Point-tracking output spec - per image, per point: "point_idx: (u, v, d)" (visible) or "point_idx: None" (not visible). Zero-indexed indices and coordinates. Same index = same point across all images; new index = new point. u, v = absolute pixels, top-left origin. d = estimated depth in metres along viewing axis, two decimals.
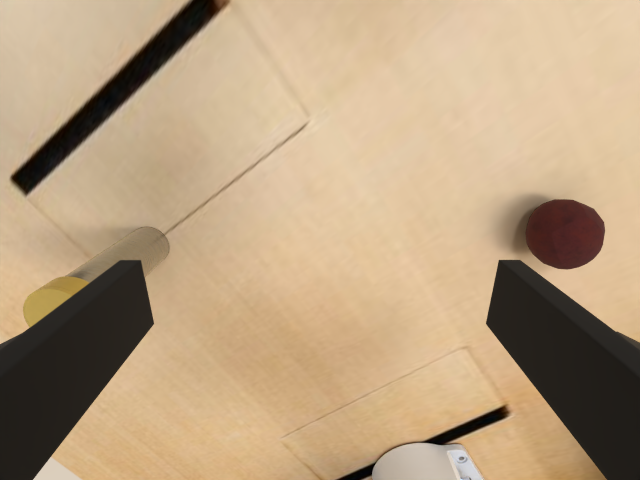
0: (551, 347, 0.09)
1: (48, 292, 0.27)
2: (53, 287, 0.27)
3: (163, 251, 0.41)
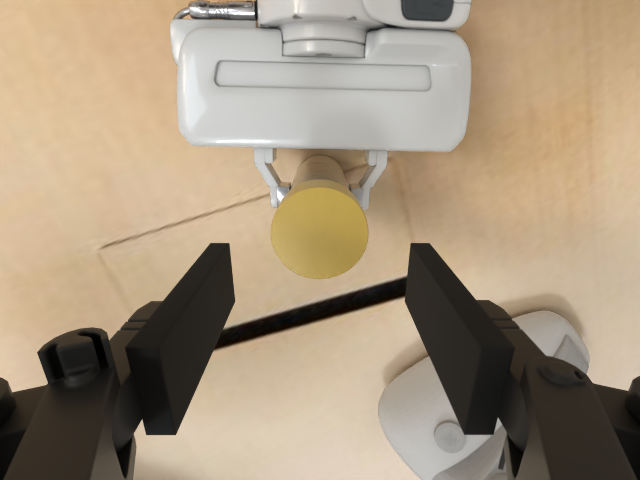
0: (433, 314, 0.11)
1: (307, 272, 0.19)
2: (301, 274, 0.20)
3: None
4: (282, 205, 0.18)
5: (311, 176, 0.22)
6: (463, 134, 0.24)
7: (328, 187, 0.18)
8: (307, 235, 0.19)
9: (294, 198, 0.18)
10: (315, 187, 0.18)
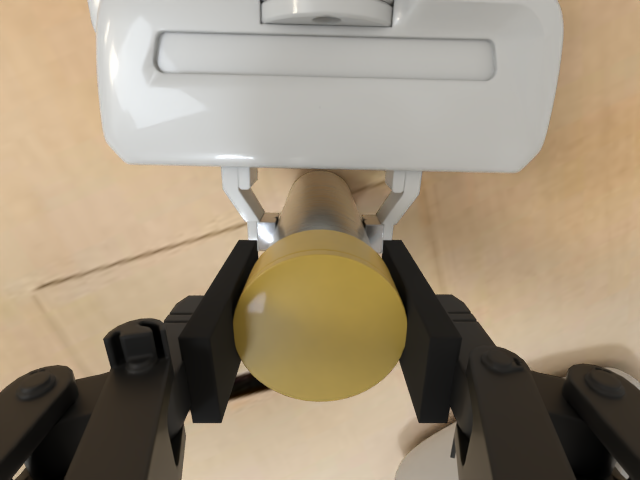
0: None
1: (299, 392, 0.11)
2: (288, 392, 0.11)
3: None
4: (251, 285, 0.10)
5: (307, 215, 0.14)
6: (540, 147, 0.15)
7: (336, 253, 0.10)
8: (298, 334, 0.10)
9: (273, 273, 0.10)
10: (312, 254, 0.10)
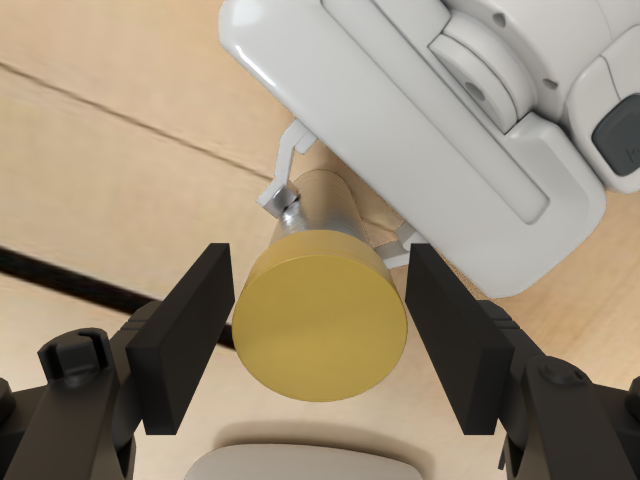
0: (433, 314, 0.11)
1: (367, 381, 0.11)
2: (364, 387, 0.11)
3: (304, 177, 0.23)
4: (240, 355, 0.11)
5: (345, 217, 0.14)
6: (517, 293, 0.18)
7: (252, 279, 0.10)
8: (308, 350, 0.11)
9: (239, 335, 0.10)
10: (240, 298, 0.10)
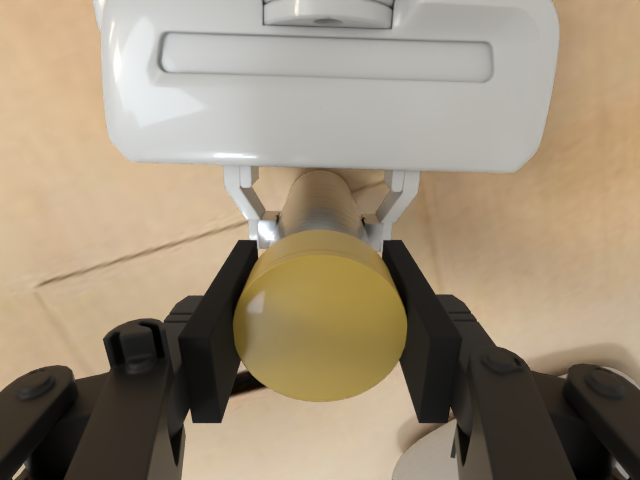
0: None
1: (395, 345, 0.10)
2: (401, 350, 0.11)
3: None
4: (277, 390, 0.11)
5: (307, 213, 0.14)
6: (536, 148, 0.16)
7: None
8: (323, 352, 0.11)
9: (262, 376, 0.11)
10: (237, 348, 0.11)
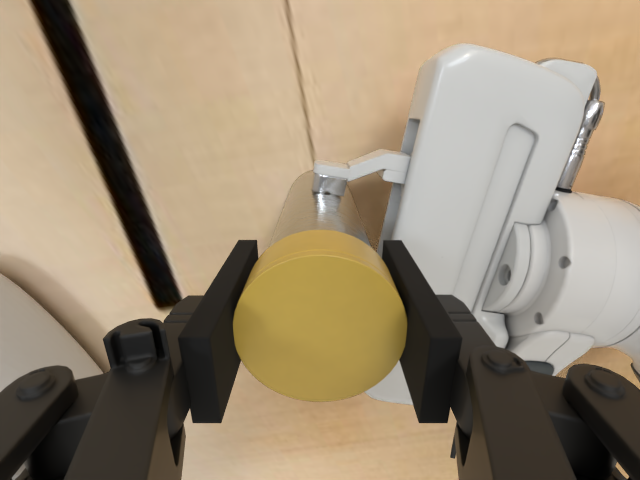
0: None
1: (395, 345, 0.10)
2: (401, 350, 0.11)
3: None
4: (277, 390, 0.11)
5: None
6: (374, 398, 0.21)
7: None
8: (323, 352, 0.11)
9: (262, 376, 0.11)
10: (237, 348, 0.11)
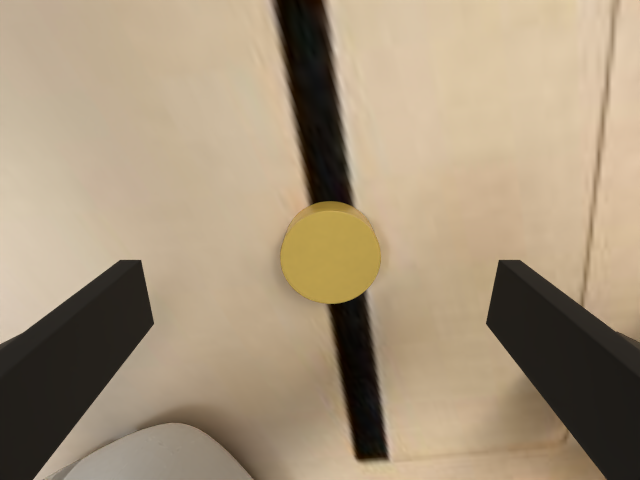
0: (551, 347, 0.09)
1: (374, 266, 0.18)
2: (377, 270, 0.18)
3: None
4: (304, 295, 0.19)
5: None
6: None
7: None
8: (332, 270, 0.18)
9: (296, 286, 0.19)
10: (282, 268, 0.18)
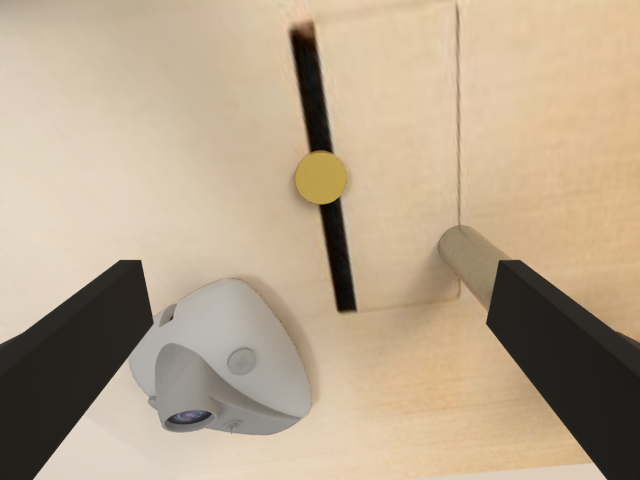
0: (551, 347, 0.09)
1: (343, 182, 0.35)
2: (345, 185, 0.36)
3: (478, 233, 0.38)
4: (307, 199, 0.36)
5: None
6: None
7: (295, 178, 0.35)
8: (321, 185, 0.35)
9: (303, 194, 0.36)
10: (296, 184, 0.36)
